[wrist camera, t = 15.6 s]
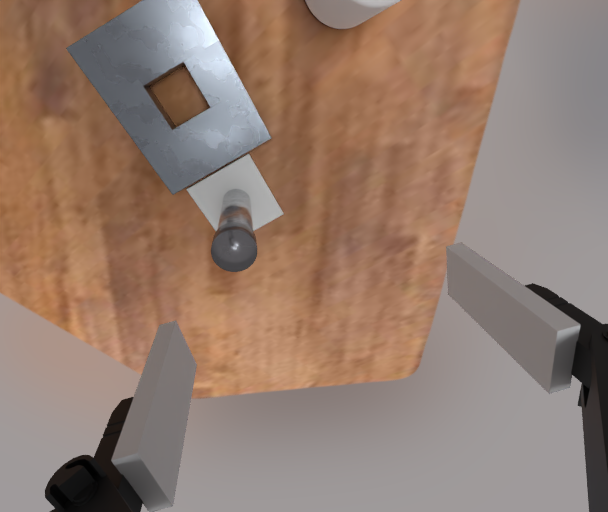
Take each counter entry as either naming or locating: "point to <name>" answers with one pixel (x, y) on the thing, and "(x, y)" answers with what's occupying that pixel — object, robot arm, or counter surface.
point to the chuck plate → (156, 65)
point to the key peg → (235, 233)
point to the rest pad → (236, 177)
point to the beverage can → (347, 11)
